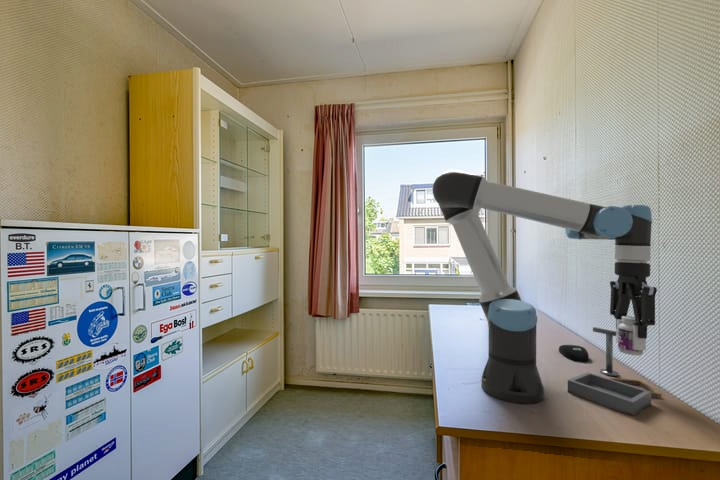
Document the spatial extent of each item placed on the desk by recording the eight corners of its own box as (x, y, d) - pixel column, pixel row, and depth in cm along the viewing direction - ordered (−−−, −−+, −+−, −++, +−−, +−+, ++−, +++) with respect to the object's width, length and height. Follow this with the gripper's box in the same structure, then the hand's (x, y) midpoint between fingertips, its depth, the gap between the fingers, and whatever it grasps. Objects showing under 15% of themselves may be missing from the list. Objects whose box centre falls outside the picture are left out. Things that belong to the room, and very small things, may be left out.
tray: (632, 416, 74) (632, 402, 74) (567, 391, 86) (567, 380, 86) (651, 404, 79) (651, 391, 79) (587, 382, 91) (587, 372, 91)
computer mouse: (569, 362, 108) (569, 350, 108) (556, 351, 120) (556, 340, 120) (594, 364, 107) (594, 352, 107) (579, 352, 118) (579, 342, 118)
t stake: (614, 377, 95) (614, 333, 95) (590, 370, 101) (590, 328, 101) (621, 374, 97) (621, 331, 98) (597, 367, 103) (597, 326, 103)
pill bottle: (613, 348, 91) (614, 314, 91) (635, 350, 90) (636, 316, 90) (624, 354, 86) (624, 318, 86) (647, 357, 85) (648, 320, 85)
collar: (661, 398, 83) (661, 394, 83) (622, 394, 85) (622, 390, 85) (641, 384, 91) (641, 380, 91) (606, 380, 93) (606, 377, 93)
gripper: (677, 264, 79) (675, 358, 79) (621, 260, 97) (620, 337, 97) (644, 263, 79) (642, 357, 79) (595, 259, 98) (594, 335, 98)
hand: (630, 345), depth 88 cm, fingers closed on pill bottle, 5 cm apart
